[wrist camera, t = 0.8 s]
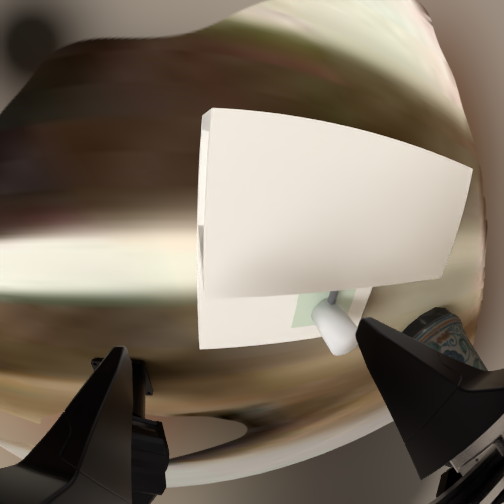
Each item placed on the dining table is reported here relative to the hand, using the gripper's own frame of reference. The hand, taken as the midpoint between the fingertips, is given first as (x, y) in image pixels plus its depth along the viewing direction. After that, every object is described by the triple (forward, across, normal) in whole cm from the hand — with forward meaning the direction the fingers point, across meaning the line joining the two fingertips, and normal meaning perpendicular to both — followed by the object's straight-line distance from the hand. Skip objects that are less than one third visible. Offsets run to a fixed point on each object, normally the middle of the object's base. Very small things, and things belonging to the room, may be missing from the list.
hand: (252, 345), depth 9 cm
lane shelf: (+14, -8, +3) cm, 16 cm away
